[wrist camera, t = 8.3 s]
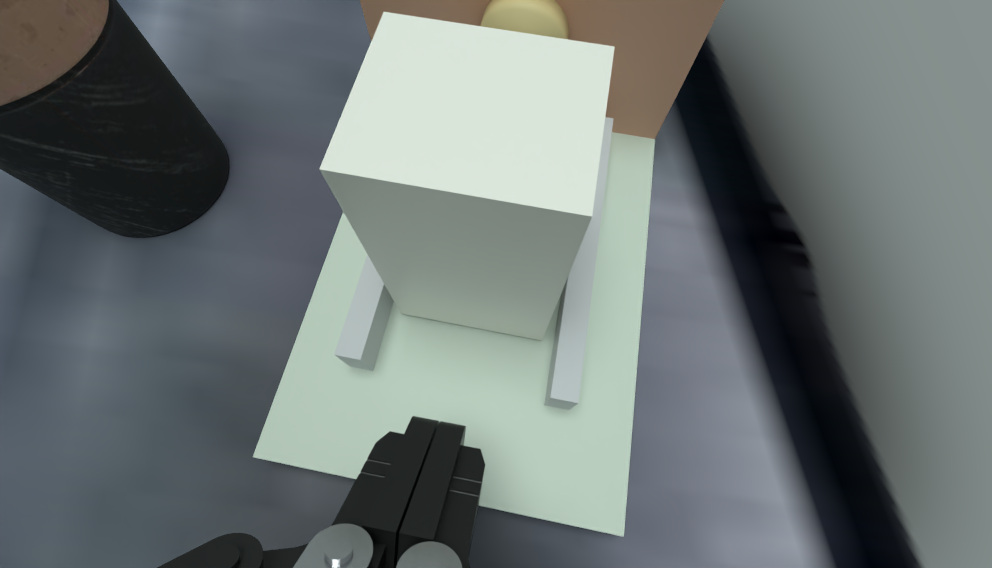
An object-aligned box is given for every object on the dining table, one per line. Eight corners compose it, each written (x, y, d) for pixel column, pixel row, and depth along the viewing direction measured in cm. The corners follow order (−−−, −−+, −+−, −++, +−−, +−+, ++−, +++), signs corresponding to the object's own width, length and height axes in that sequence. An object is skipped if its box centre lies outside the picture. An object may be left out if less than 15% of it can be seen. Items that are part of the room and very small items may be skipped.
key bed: (613, 531, 18) (795, 621, 7) (270, 458, 19) (-19, 441, 8) (650, 100, 26) (762, -155, 15) (410, 62, 27) (358, -205, 16)
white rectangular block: (542, 340, 19) (592, 216, 10) (400, 313, 19) (318, 169, 10) (558, 235, 21) (615, 46, 12) (429, 212, 21) (383, 11, 12)
